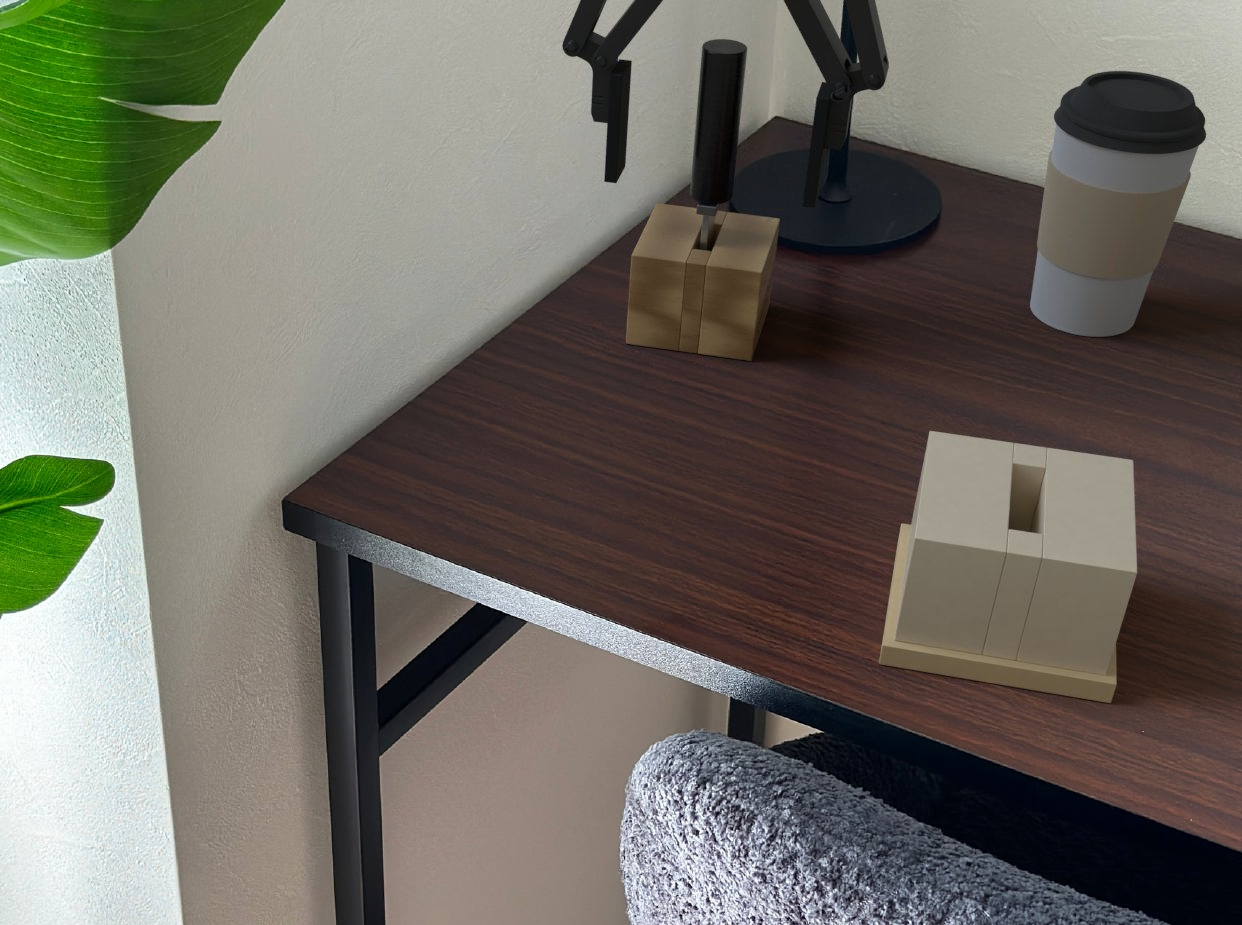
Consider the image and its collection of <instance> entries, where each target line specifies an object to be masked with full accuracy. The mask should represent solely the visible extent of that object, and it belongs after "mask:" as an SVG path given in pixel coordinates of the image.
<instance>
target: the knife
mask: <svg viewBox="0 0 1242 925" xmlns="http://www.w3.org/2000/svg"><path fill="white" fill-rule="evenodd" d="M701 46H702V47H701V57H700V58H701V59H700V68H699V70H700V71H699V80H698V92H697V102H696V103H697V105H696V116H695V127H694V142H693V151H692V152H693V154H692V164H691V174H690V187H689V196H690V197H691V199H693V200H694V201H695V202H697V204H696V208H697V211H696V214H699V215H703V219H702V230H701V242H700V250H706V251H711V252H712V247H713V236H714V226H715V216H716V214H717V211H719V209H720V206H721V205H723V204H726V203H728V202H730V201H731V200H732V199H733V196H734V185H735V177H736V176H735V175H736V166H737V158H738V156H737V154H738V145H739V137H740V127H741V115H742V106H743V96H744V88H745V86H744V85H745V78H746V77H745V76H746V67H747V59H748V58H747V56H748V46H747V45H746V44H745V43H743V42H741V41H738V40H734V39H727V38H717V39H710V40H707V41H705V42H704V43H703V44H702V45H701Z"/></svg>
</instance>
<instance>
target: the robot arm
mask: <svg viewBox="0 0 1242 925" xmlns="http://www.w3.org/2000/svg"><path fill="white" fill-rule="evenodd" d="M607 1H608V0H579V3H578V5H577V8H576V10H575V13H574V15H573V17H572V20H571V21H570V23H569V26H568V29H567V31H566V34H565V36H564V38H563V41H562V44H561V45H562V50H563V52H564V54H565V55H566V56H568V57H571V58H574V57H576V58H579V59H581V60H583V61H585V62H586V63H588V65H589V66H590V67H591V70H592V79H591V80H592V82H591V83H592V84H591V104H590V115H591V117H592V121H593V122H594V123H602V124H606V139H605V140H606V142H605V158H604V159H605V160H604V162H605V163H604V180H603V182H604V183H611V184H617V183H618V181H619V179H620V178H621V176H622V173H623V172H624V170H625V168H626V163H627V148H628V147H627V146H628V145H627V144H628V129H629V113H630V96H631V81H632V63H633V60H632V59H631V60H630V59H622V58H619V57H620V56H621V55H622V53H623V52H624V51H625V49H626V48H627V47H628V45H629V44H630V43H631V42H632V41H633V39H634V38H635V37H636V36H637V34H638V33H639V31H640V30H641V29H642V28H643V26H644V25H645V24H646V23H647V22H648V21H649V19H650V18H651V16H653V14H654V12H656V10H657V9H658V8H659V7H660V5H661V4H662V3H663V1H664V0H633V1H632V2H631V3H630V5H628V7H627V9H626V10H625V11H624V13H623V14H622V15H621V16H620V18H619V19H618V20H617V22H616V23H615V24H614V25H613V27H612V28H611V29H610V31H609V32H608V33H607V35H606V36H603V35H601V34H599V33H597V32H595V28H596V26H597V24H598V21H599V19H600V17H601V15H602V13H603V10H604V8H605V5H606V3H607ZM844 2H845V6H846V11H847V15H848V19H849V24H850V27H851V31H852V36H853V40H854V44H855V49H856V55H857V59H858V62H855V63H853V61H852V59H851V58H850V56H849V53H848V51H847V50H846V48H845V46H844V44H843V42H842V40H841V38H840V36H839V35H838V32H837V31H836V28H835V26H834V25H833V22H832V20H831V19H830V16H829V15H828V13H827V11H826V9H825V7H824V5H823V3H822V1H821V0H783V3H784V4H785V6H786V8H787V10H788V12H789V13H790V15H791V17H792V20H793V22H794V23H795V25H796V27H797V29H798V31H799V33H800V35H801V37H802V39H803V40H804V43H805V44H806V47H807V48H808V50H809V52H810V54H811V56H812V58H813V60H814V62H815V64H816V65H817V67H818V69H819V72H820V73H821V75H822V77H823V79H824V81H821V84H820V86H819V90H818V92H817V96H816V98H815V104H814V105H815V107H814V113H813V121H812V130H811V135H810V136H811V137H810V142H809V144H810V145H809V152H808V159H807V167H806V175H805V181H804V189H803V190H804V191H803V198H802V206H801V207H803V208H811V209H815V208H816V207H817V206H816V205H817V203H818V198H819V196H820V192H821V188H822V180H823V172H824V165H825V158H826V151H827V150H832V151H840V152H841V150H842V148H843V146H844V145H845V142H846V139H847V136H848V132H849V131H848V130H849V124H850V117H851V111H852V105H853V104H852V103H853V97H855V95H856V94H858V93H860V92H863V91H864V92H865V91H868V90H869V91H879V90H880V89H882V88H883V87H884V85H885V83H886V80H887V77H888V72H889V68H890V61H889V57H888V53H887V49H886V48H887V47H886V44H885V43H886V42H885V39H884V34H883V31H882V30H883V29H882V26H881V20H880V16H879V11H878V6H877V2H876V0H844Z"/></svg>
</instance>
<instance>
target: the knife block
mask: <svg viewBox="0 0 1242 925" xmlns="http://www.w3.org/2000/svg"><path fill="white" fill-rule="evenodd" d="M696 211H697V207H692V206H691V207H690V206H682V205H675V204H667V203H659V202H657V203H656V204H655V205H654V207H653V209H652V212H651V214H650V215H649V218H648V219H647V223H646V224H645V226H644V228H643V230H642V232H641V235H640V237H639V239H638V241H637V243H636V244H635V247H634V249H633V251H632V254H631V255H630V256H631V258H630V272H629V273H630V274H629V288H628V303H627V319H626V332H625V334H626V335H625V344H626V345H632V346H641V347H646V348H652V349H653V348H654V349H661V350H667V351H674V352H675V351H676V352H683V353H690V354H695V355H696V354H699V355H703V356H704V355H705V356H711V357H719V358H726V359H733V360H739V361H745V362H746V361H748V362H752V361H753V358H754V354H755V351H756V349H757V345H758V343H759V340H760V336H761V333H762V330H763V326H764V324H765V320H766V317H767V314H768V311H769V308H770V304H771V297H772V288H773V281H774V280H773V279H774V273H775V265H776V255H777V247H778V240H779V230H780V224H781V219H780V218H777V217H770V216H763V215H754V214H747V213H738V212H731V211H723V210H718V211H717V214H716V216H715V226H714V236H713V247H712V252H711V251H706V250H700V242H701V230H702V219H703V215H699V214H696Z"/></svg>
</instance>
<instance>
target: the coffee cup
mask: <svg viewBox="0 0 1242 925" xmlns="http://www.w3.org/2000/svg"><path fill="white" fill-rule="evenodd" d="M1053 120H1054V122H1055V129H1054V136H1053V143H1052V149H1051V150H1050V152H1049V153H1048V159H1047V166H1046V174H1045V179H1044V180H1045V182H1044V189H1043V195H1042V196H1043V197H1042V205H1041V211H1040V219H1039V226H1038V233H1037V241H1036V247H1037V254H1036V261H1035V268H1034V275H1033V281H1032V288H1031V295H1030V301H1029V302H1030V303H1029V308H1030V311H1031V312H1032V314H1033V315H1034V316H1035V317H1036V319H1038V320H1039V321H1041V322H1042V323H1044V324H1045V325H1047V326H1049V327H1050V328H1053V329H1056V330H1058V331H1061V332H1064V333H1067V334H1072V335H1077V336H1083V337H1091V338H1092V337H1094V338H1102V337H1103V338H1104V337H1105V338H1106V337H1112V336H1118V335H1121V334H1124V333H1126V332H1128V331H1129V330H1131V329H1132V328H1133V327H1134V325H1135V323H1136V319H1137V317H1138V314H1139V311H1140V309H1141V306H1142V303H1143V300H1144V298H1145V295H1146V292H1147V290H1148V287H1149V284H1150V281H1151V280H1152V279H1151V278H1152V275H1153V273H1154V270H1155V269H1157V267H1158V265H1159V263H1160V260H1161V258H1162V254H1163V252H1164V249H1165V247H1166V244H1167V241H1168V240H1169V236H1170V234H1171V232H1172V231H1171V230H1172V228H1173V225H1174V223H1175V220H1176V217H1177V215H1178V212H1179V209H1180V207H1181V204H1182V201H1183V198H1184V196H1185V194H1186V191H1187V189H1188V186H1189V182H1190V180H1191V176H1192V173H1191V170H1192V166H1193V164H1194V160H1195V158H1196V155H1197V152H1198V149H1199V147H1200V146H1201V145H1202V144H1203V143H1204V142H1205V141H1206V138H1207V131H1206V129H1205V126H1206V117H1205V114H1204V113H1203V111H1202V109H1200V107H1198V105H1197V104H1196V101H1195V96H1194V94H1193V92H1192V91H1191V90H1190V89H1188V87H1186V86H1185V85H1182V84H1181V83H1179V82H1177V81H1174V80H1172V79H1170V78H1167V77H1163V76H1159V75H1156V74H1151V73H1146V72H1140V71H1131V70H1109V71H1102V72H1097V73H1093V74H1091V75H1089V76H1087V77H1086V78H1085V79H1084V80H1083V81H1082V82H1081V83H1080V85H1078V86H1075V87H1073V88H1070V89H1069V90H1067V92H1065V93H1064V94H1063V95H1062V97H1061V99H1060V104H1059V107H1058V108H1056V110H1055V112H1054V114H1053Z"/></svg>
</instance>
